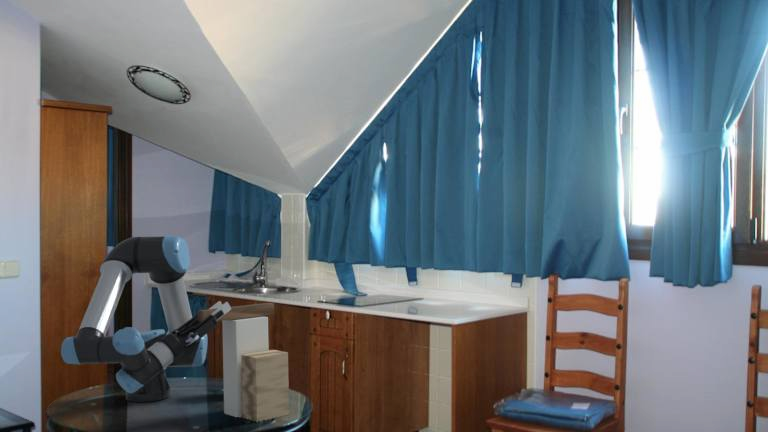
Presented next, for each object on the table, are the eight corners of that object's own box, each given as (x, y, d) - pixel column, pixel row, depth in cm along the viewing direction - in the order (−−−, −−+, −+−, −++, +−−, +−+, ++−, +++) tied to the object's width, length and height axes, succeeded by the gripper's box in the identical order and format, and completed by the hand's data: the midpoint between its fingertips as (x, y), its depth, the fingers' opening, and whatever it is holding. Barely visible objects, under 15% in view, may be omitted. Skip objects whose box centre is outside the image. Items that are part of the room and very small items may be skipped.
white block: (224, 413, 232) (222, 319, 233) (255, 406, 241) (254, 315, 241) (237, 417, 226) (236, 321, 227) (269, 410, 235) (268, 317, 235)
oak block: (242, 417, 226) (241, 354, 227) (274, 410, 235) (273, 349, 235) (257, 422, 221) (255, 357, 221) (289, 414, 229) (287, 352, 229)
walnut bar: (197, 321, 224) (197, 310, 224) (268, 313, 242) (267, 302, 242) (203, 322, 221) (203, 311, 221) (274, 314, 240) (274, 303, 240)
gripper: (158, 358, 222) (216, 312, 236) (186, 364, 210) (245, 316, 224) (146, 338, 219) (206, 293, 234) (173, 343, 207) (234, 296, 222)
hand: (225, 305), depth 229 cm, fingers closed on walnut bar, 3 cm apart
